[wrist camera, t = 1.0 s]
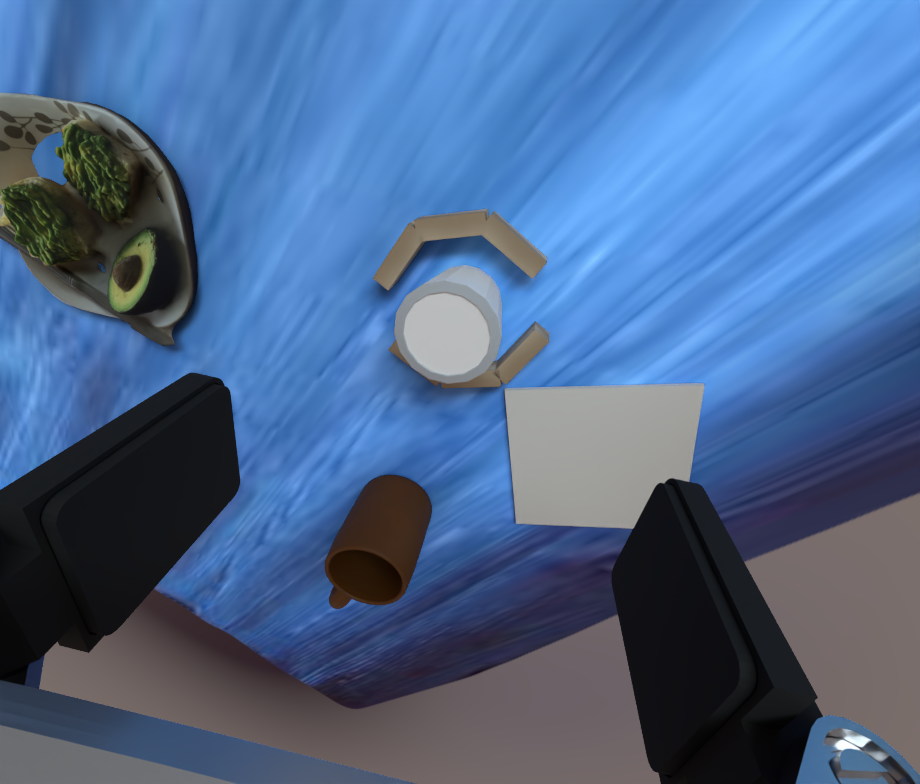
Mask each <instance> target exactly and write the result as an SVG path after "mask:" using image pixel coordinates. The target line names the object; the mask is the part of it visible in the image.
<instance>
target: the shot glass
mask: <svg viewBox="0 0 920 784" xmlns="http://www.w3.org/2000/svg"><path fill="white" fill-rule="evenodd" d="M501 331H502V302H501V296H500V290H499V288H498V287H497V285H496V283H495V282H494V280H493V279H492V277H491V276H489V275H488V274H487V273H485V272H484V271H482V270H481V269H480V268H476V267H471V266H467V265H462V266H456V267H451V268H449V269H447V270H446V271H444V272H442V273H441V274H439V275H437V276H436V277H434V278H433V279H431V280H429V281H428V282H426V283H424V284H423V285H421V286H420V287H418V288H417V289H415V290H414V291H413V292H411V293H410V294H408V295H407V296H406V297H405V299H404V301H403V302H402V304H401V306H400V307H399V309H398V311H397V312H396V320H395V329H394V334H395V337H396V341H397V344H398V347H399V351H400V353H401V354H402V355H403V357H404V358H405V359H406V361H407V362H408V363H409V364H410V366H411V367H412V368H413V369H415V370H416V371H418V372H419V373H421V374H422V375H424V376H425V377H427V378H428V379H431V380H435V381H439V382H443V383H447V384H450V383H459V382H468V381H470V380H472V379H473V378H475V377H477V376H479V375H481V374H483V373H485V371H486V370H487V369H488V368H489V366H490V365H491V364H492V363H493V361H494V360H495V359H496V358H497V354H498V350H499V346H500V342H501Z"/></svg>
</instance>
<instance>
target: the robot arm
mask: <svg viewBox="0 0 920 784" xmlns="http://www.w3.org/2000/svg"><path fill="white" fill-rule="evenodd" d="M239 485H240V474H239V465H238V457H237V448H236V439H235V430H234V421H233V412H232V403H231V395H230V390H229V389H228V388H227V387H226V386H224V383H223V382H222V380H221V379H219V378H216V377H211V376H207V375H202V374H198V373H189V374H187V375H185V376H183V377H182V378H180V379H178V380H177V381H175V382H174V383H172V384H170V385H169V386H167V387H165V388H164V389H162V390H161V391H159V392H157V393H156V394H154V395H153V396H151V397H149V398H148V399H146V400H145V401H143V402H141V403H140V404H138V405H137V406H135V407H133V408H132V409H130V410H128V411H127V412H125V413H124V414H122V415H120V416H119V417H117V418H116V419H114V420H112V421H111V422H109V423H108V424H106V425H104V426H103V427H101V428H99V429H98V430H96V431H95V432H93V433H91V434H90V435H88V436H87V437H85V438H83V439H82V440H80V441H79V442H77V443H75V444H74V445H72V446H70V447H69V448H67V449H66V450H64V451H62V452H61V453H59V454H58V455H56V456H54V457H53V458H51V459H50V460H48V461H46V462H45V463H43V464H41V465H40V466H38V467H37V468H35V469H33V470H32V471H30V472H29V473H27V474H25V475H24V476H22V477H21V478H19V479H17V480H16V481H14V482H13V483H11V484H9V485H8V486H6V487H4V488H3V489H1V490H0V784H415V783H411V782H407V781H403V780H399V779H395V778H391V777H387V776H384V775H379V774H376V773H372V772H368V771H364V770H360V769H356V768H352V767H348V766H344V765H340V764H336V763H332V762H328V761H325V760H321V759H317V758H313V757H309V756H305V755H301V754H297V753H293V752H289V751H285V750H281V749H277V748H274V747H269V746H266V745H262V744H257V743H254V742H250V741H246V740H242V739H238V738H234V737H229V736H226V735H222V734H218V733H214V732H210V731H206V730H202V729H198V728H194V727H190V726H186V725H182V724H178V723H174V722H170V721H166V720H162V719H158V718H154V717H150V716H146V715H142V714H138V713H134V712H130V711H126V710H122V709H118V708H114V707H110V706H105V705H102V704H98V703H94V702H89V701H86V700H81V699H78V698H73V697H69V696H65V695H61V694H57V693H53V692H49V691H45V690H41V689H39V685H40V679H41V673H42V667H43V661H44V655H45V653H46V652H47V651H48V650H49V649H50V648H51V647H52V646H53V645H54V644H55V643H56V642H57V641H58V643H59V645H60V646H64V647H68V648H72V649H76V650H80V651H84V652H88V653H89V652H90V651H91V650H92V649H93V647H94V646H95V645H96V644H97V643H98V642H99V641H100V640H101V639H102V637H103V636H104V635H105V636H107V635H110V634H112V633H113V632H115V631H116V630H117V629H118V628H119V627H120V626H121V625H122V624H123V623H124V622H125V621H126V619H127V618H128V617H129V616H130V615H131V614H132V612H134V610H135V609H136V608H137V607H138V606H139V605H140V604H141V602H142V601H143V600H144V599H145V598H146V597H147V595H148V594H149V593H150V592H151V591H152V590H153V589H154V588H155V586H156V585H157V584H158V583H159V582H160V581H161V580H162V578H163V577H164V576H165V575H166V574H167V573H168V572H169V570H170V569H171V568H172V567H173V566H174V565H175V564H176V562H177V561H178V560H179V559H180V558H181V557H182V556H183V554H184V553H185V552H186V551H187V550H188V549H189V548H190V546H191V545H192V544H193V543H194V542H195V541H196V540H197V539H198V537H199V536H200V535H201V534H202V533H203V532H204V531H205V529H206V528H207V527H208V526H209V525H210V524H211V523H212V521H213V520H214V519H215V518H216V517H217V516H218V515H219V513H220V512H221V511H222V510H223V509H224V508H225V507H226V505H227V504H228V503H229V502H230V501H231V500H232V499H233V497H234V496H235V495H236V493H237V491H238V489H239ZM612 587H613V592H614V597H615V602H616V606H617V611H618V616H619V621H620V626H621V631H622V636H623V641H624V646H625V650H626V656H627V660H628V665H629V670H630V675H631V680H632V685H633V690H634V695H635V700H636V705H637V710H638V714H639V719H640V724H641V729H642V734H643V739H644V744H645V749H646V754H647V758H648V761H649V764H650V766H651V768H652V769H653V771H655V772H658V773H659V777H660V782H661V784H920V775H919V774H918V773H917V772H916V771H915V770H914V769H913V767H912V766H911V765H910V764H909V763H908V762H907V761H906V760H905V759H904V758H903V756H901V755H900V754H899V753H898V752H897V751H896V750H895V749H893V748H892V747H891V746H890V745H888V744H887V743H886V742H885V741H884V740H883V739H882V738H880V737H879V736H877V735H876V734H874V733H873V732H871V731H870V730H868V729H867V728H865V727H863V726H862V725H860V724H857V723H855V722H853V721H851V720H848V719H846V718H844V717H837V716H830V715H828V716H825V717H823V716H822V714H821V712H820V710H819V708H818V706H817V705H816V703H815V701H814V700H815V699H817V698H818V697H817V695H816V693H815V691H814V690H813V688H812V686H811V684H810V682H809V681H808V679H807V677H806V675H805V673H804V672H803V670H802V668H801V666H800V664H799V662H798V660H797V659H796V657H795V655H794V653H793V651H792V649H791V648H790V646H789V644H788V642H787V640H786V638H785V637H784V635H783V633H782V631H781V629H780V627H779V626H778V624H777V622H776V620H775V618H774V616H773V615H772V613H771V611H770V609H769V607H768V605H767V604H766V602H765V600H764V598H763V596H762V594H761V593H760V591H759V589H758V587H757V585H756V583H755V582H754V580H753V578H752V576H751V574H750V573H749V571H748V569H747V567H746V565H745V563H744V561H743V560H742V558H741V556H740V554H739V552H738V550H737V549H736V547H735V545H734V543H733V541H732V539H731V538H730V536H729V534H728V532H727V530H726V528H725V527H724V525H723V523H722V521H721V519H720V517H719V516H718V514H717V512H716V510H715V508H714V506H713V505H712V503H711V501H710V499H709V497H708V495H707V494H706V492H705V490H704V488H703V487H702V486H701V485H699V484H697V483H692V482H687V481H683V480H678V479H674V478H670V479H668V480H667V481H666V482H665V483H658V484H657V485H656V487H655V488H654V490H653V492H652V494H651V496H650V498H649V500H648V501H647V503H646V505H645V507H644V509H643V511H642V513H641V515H640V517H639V519H638V521H637V523H636V524H635V526H634V528H633V530H632V532H631V534H630V536H629V538H628V540H627V542H626V544H625V546H624V548H623V549H622V551H621V553H620V555H619V557H618V559H617V561H616V563H615V565H614V567H613V571H612Z"/></svg>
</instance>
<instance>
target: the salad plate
mask: <svg viewBox="0 0 920 784" xmlns="http://www.w3.org/2000/svg"><path fill="white" fill-rule="evenodd" d="M58 132H62V135H63V136H62V137H63V142H64V143H63V146H62V147H61V148H60V147H56V149H55V153H56V154H57V156H59V157H60V158H61V159H63V161H64V171H63V175H64V177H65V178H66V179H67V182H66V183H65V184H64V185H60V184H58V183H56V182H54V181H52V180H50V179H46V178H42V177H39V175H38V173H37V171H36V169H35V166H34V164H33V162H32V159H31V157H32V154H33V152H34V150H35V148H36V146H37V145H38V144H39V143H40V142H41V141H42V140H43V139H44V138H45V137H47V136H49V135H51V134H54V133H58ZM158 197H159V198H160V200H161V201H160V200H159V198H158ZM0 204H1V208H0V238H2V239H3V240H5V241H6V242H8V243H9V244H11V245H12V246H14V247H15V248H17V249H18V251H19V253H20V255H21V256H22V258H23V260H24V262H25V263H26V265H27V267H28V268H29V270H30V271H31V272H32V274H33V275H34V276H35V277H36V278H37V279H38V280H39V281H40V282H41V284H43V285H44V286H45V287H46V288H47V289H48V290H49V291H50V292H51V293H52V294H53V295H54V296H55V297H56V298H58V299H59V300H61V301H62V302H64V303H66V304H68V305H70V306H74V307H77V308H79V309H82V310H85V311H89V312H93V313H97V314H102V315H106V316H110V317H115V318H120V319H121V320H122V321H125V322H127V323H128V324H130V326H131V327H132V328H133V329H134V330H136V331H137V332H139V333H140V334H142V335H144V336H146V337H147V338H149V339H151V340H153V341H154V342H156V343H158V344H161V345H163V346H166V345H175V344H174V341H173V338H172V331H173V329H174V327H175V325H176V324H177V323H178V322H179V321H180V320H182V319H183V317H184V316H185V315H186V314H187V313H188V311H189V310H190V308H191V306H192V304H193V301H194V297H195V294H196V290H197V283H198V273H197V254H196V247H195V240H194V232H193V225H192V218H191V212H190V208H189V204H188V201H187V198H186V195H185V192H184V190H183V187H182V185H181V183H180V180H179V178H178V175H177V173H176V171H175V169H174V168H173V166H172V165H171V163H170V162H169V160H168V159H167V158H166V156H165V155H164V154H163V152H162V151H161V150H160V148H159V147H158V146H157V145H156V144H155V143H154V141H153V140H152V139H151V138H150V137H149V136H148V135H147V134H146V133H145V132H143V131H142V130H141V129H140V128H139V127H138V126H137V125H135V124H134V123H133V122H131V121H130V120H129V119H127V118H125V117H124V116H122V115H120V114H117V113H116V112H114V111H112V110H110V109H107V108H105V107H102V106H100V105H97V104H92V103H88V102H73V101H66V100H61V99H55V98H48V97H43V96H37V95H33V94H30V95H29V94H20V93H0ZM98 263H101V264H103V265H104V267H105V270H106V271H105V272H102V271H101V270H100V269H99V267H98Z"/></svg>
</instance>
